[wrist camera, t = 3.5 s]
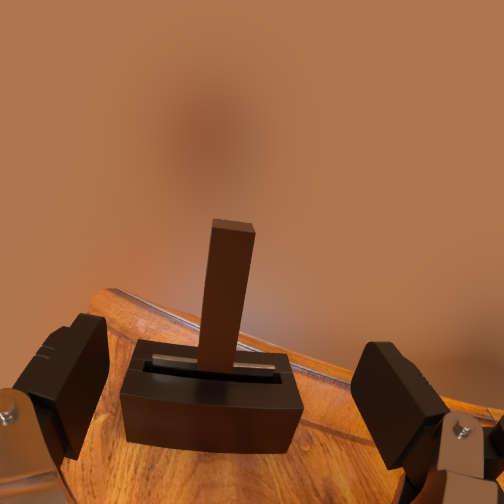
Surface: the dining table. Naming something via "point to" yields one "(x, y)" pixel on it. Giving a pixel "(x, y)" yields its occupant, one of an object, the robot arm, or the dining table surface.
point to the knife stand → (209, 405)
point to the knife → (221, 312)
